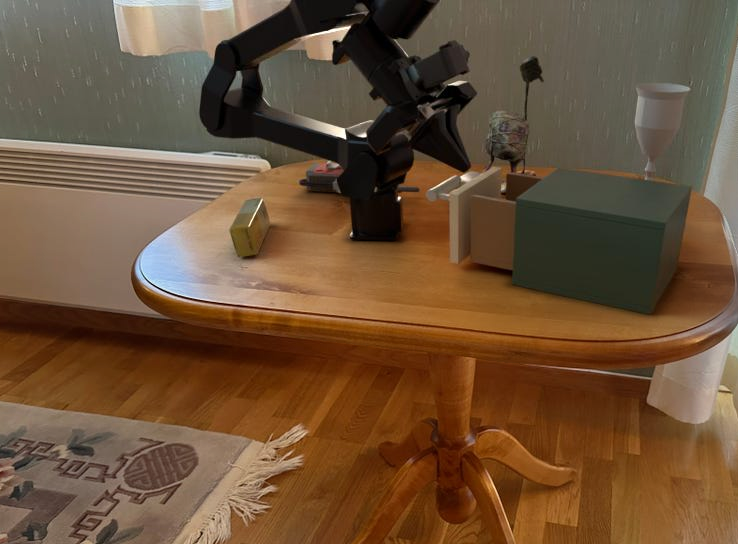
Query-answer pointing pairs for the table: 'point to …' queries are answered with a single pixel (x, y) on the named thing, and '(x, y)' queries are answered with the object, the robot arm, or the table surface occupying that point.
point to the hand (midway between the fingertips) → (467, 169)
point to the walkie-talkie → (332, 179)
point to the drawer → (483, 216)
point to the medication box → (250, 227)
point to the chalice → (658, 118)
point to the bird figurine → (512, 127)
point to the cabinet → (599, 237)
